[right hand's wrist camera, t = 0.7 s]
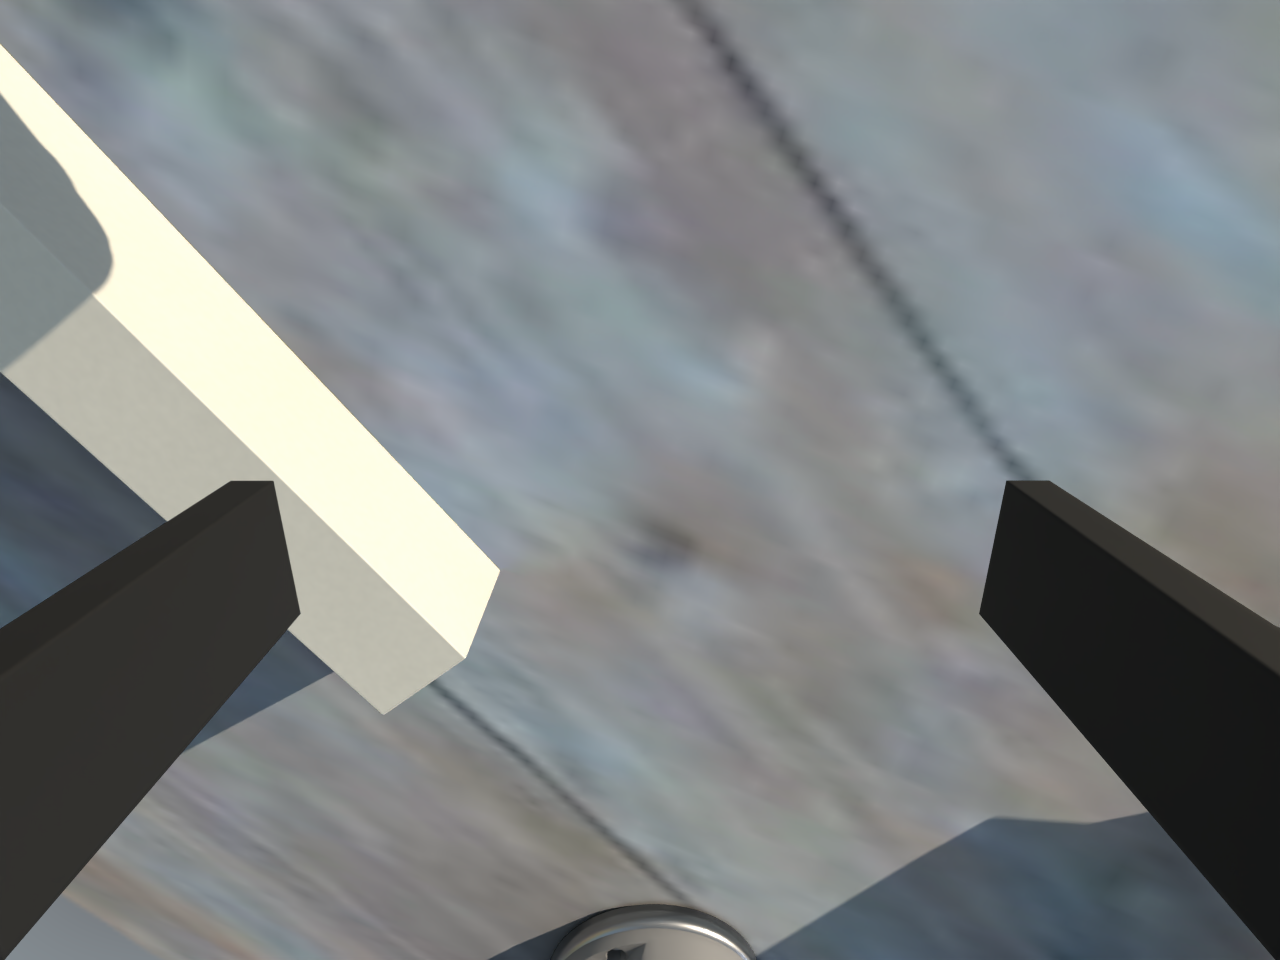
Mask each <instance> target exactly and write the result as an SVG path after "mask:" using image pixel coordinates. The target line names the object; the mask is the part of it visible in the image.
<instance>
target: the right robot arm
mask: <svg viewBox="0 0 1280 960" xmlns="http://www.w3.org/2000/svg"><path fill="white" fill-rule="evenodd" d="M300 614H301V613H300V608H299V603H298V598H297V593H296V588H295V583H294V578H293V573H292V569H291V564H290V559H289V554H288V549H287V544H286V539H285V534H284V529H283V524H282V520H281V515H280V510H279V505H278V500H277V495H276V490H275V485H274V481H230V482H228V483H226V484H225V485H223V486H222V487H220V488H219V489H217V490H216V491H214V492H212V493H211V494H209V495H208V496H206V497H205V498H203V499H202V500H200V501H198V502H197V503H195V504H194V505H192V506H191V507H189V508H188V509H186V510H184V511H183V512H181V513H180V514H178V515H177V516H175V517H174V518H172V519H170V520H169V521H167V522H166V523H164V524H163V525H161V526H160V527H158V528H156V529H155V530H153V531H152V532H150V533H149V534H147V535H146V536H144V537H142V538H141V539H139V540H138V541H136V542H135V543H133V544H132V545H130V546H128V547H127V548H125V549H124V550H122V551H121V552H119V553H118V554H116V555H114V556H113V557H111V558H110V559H108V560H107V561H105V562H104V563H102V564H100V565H99V566H97V567H96V568H94V569H93V570H91V571H90V572H88V573H86V574H85V575H83V576H82V577H80V578H79V579H77V580H76V581H74V582H72V583H71V584H69V585H68V586H66V587H65V588H63V589H62V590H60V591H58V592H57V593H55V594H54V595H52V596H51V597H49V598H48V599H46V600H44V601H43V602H41V603H40V604H38V605H37V606H35V607H34V608H32V609H30V610H29V611H27V612H26V613H24V614H23V615H21V616H20V617H18V618H16V619H15V620H13V621H12V622H10V623H9V624H7V625H6V626H4V627H2V628H1V629H0V960H5V959H6V957H7V956H8V955H9V954H10V953H11V951H12V950H13V949H14V948H15V947H16V946H17V944H18V943H19V942H20V941H21V940H22V939H23V938H24V936H25V935H26V934H27V933H28V932H29V931H30V929H31V928H32V927H33V926H34V925H35V923H36V922H37V921H38V920H39V919H40V918H41V917H42V915H43V914H44V913H45V912H46V911H47V909H48V908H49V907H50V906H51V905H52V904H53V902H54V901H55V900H56V899H57V898H58V897H59V895H60V894H61V893H62V892H63V891H64V890H65V888H66V887H67V886H68V885H69V884H70V883H71V881H72V880H73V879H74V878H75V877H76V876H77V874H78V873H79V872H80V871H81V870H82V869H83V867H84V866H85V865H86V864H87V863H88V862H89V860H90V859H91V858H92V857H93V856H94V855H95V853H96V852H97V851H98V850H99V849H100V848H101V846H102V845H103V844H104V843H105V842H106V841H107V839H108V838H109V837H110V836H111V835H112V834H113V832H114V831H115V830H116V829H117V828H118V827H119V825H120V824H121V823H122V822H123V821H124V820H125V818H126V817H127V816H128V815H129V814H130V813H131V811H132V810H133V809H134V808H135V807H136V806H137V804H138V803H139V802H140V801H141V800H142V799H143V797H144V796H145V795H146V794H147V793H148V792H149V790H150V789H151V788H152V787H153V786H154V785H155V783H156V782H157V781H158V780H159V779H160V778H161V776H162V775H163V774H164V773H165V772H166V771H167V769H168V768H169V767H170V766H171V765H172V764H173V762H174V761H175V760H176V759H177V758H178V757H179V755H180V754H181V753H182V752H183V751H184V750H185V748H186V747H187V746H188V745H189V744H190V743H191V741H192V740H193V739H194V738H195V737H196V735H197V734H198V733H199V732H200V731H201V730H202V728H203V727H204V726H205V725H206V724H207V723H208V721H209V720H210V719H211V718H212V717H213V716H214V714H215V713H216V712H217V711H218V710H219V709H220V707H221V706H222V705H223V704H224V703H225V702H226V700H227V699H228V698H229V697H230V696H231V695H232V693H233V692H234V691H235V690H236V689H237V688H238V686H239V685H240V684H241V683H242V682H243V681H244V679H245V678H246V677H247V676H248V675H249V674H250V672H251V671H252V670H253V669H254V668H255V667H256V665H257V664H258V663H259V662H260V661H261V660H262V658H263V657H264V656H265V655H266V654H267V653H268V651H269V650H270V649H271V648H272V647H273V646H274V644H275V643H276V642H277V641H278V640H279V639H280V637H281V636H282V635H283V634H284V633H285V632H286V630H287V629H288V628H289V627H290V626H291V625H292V623H293V622H294V621H295V620H296V619H297V618H298V616H299V615H300ZM979 614H980V615H981V616H982V618H983V619H984V620H985V621H986V622H987V623H988V625H989V626H990V627H991V628H992V629H993V630H994V632H995V633H996V634H997V635H998V636H999V637H1000V639H1001V640H1002V641H1003V642H1004V643H1005V644H1006V646H1007V647H1008V648H1009V649H1010V650H1011V651H1012V653H1013V654H1014V655H1015V656H1016V657H1017V658H1018V660H1019V661H1020V662H1021V663H1022V664H1023V665H1024V667H1025V668H1026V669H1027V670H1028V671H1029V672H1030V674H1031V675H1032V676H1033V677H1034V678H1035V679H1036V681H1037V682H1038V683H1039V684H1040V685H1041V686H1042V688H1043V689H1044V690H1045V691H1046V692H1047V693H1048V695H1049V696H1050V697H1051V698H1052V699H1053V700H1054V702H1055V703H1056V704H1057V705H1058V706H1059V707H1060V709H1061V710H1062V711H1063V712H1064V713H1065V714H1066V716H1067V717H1068V718H1069V719H1070V720H1071V721H1072V723H1073V724H1074V725H1075V726H1076V727H1077V728H1078V730H1079V731H1080V732H1081V733H1082V734H1083V735H1084V737H1085V738H1086V739H1087V740H1088V741H1089V743H1090V744H1091V745H1092V746H1093V747H1094V748H1095V750H1096V751H1097V752H1098V753H1099V754H1100V755H1101V757H1102V758H1103V759H1104V760H1105V761H1106V762H1107V764H1108V765H1109V766H1110V767H1111V768H1112V769H1113V771H1114V772H1115V773H1116V774H1117V775H1118V776H1119V778H1120V779H1121V780H1122V781H1123V782H1124V783H1125V785H1126V786H1127V787H1128V788H1129V789H1130V790H1131V792H1132V793H1133V794H1134V795H1135V796H1136V797H1137V799H1138V800H1139V801H1140V802H1141V803H1142V804H1143V806H1144V807H1145V808H1146V809H1147V810H1148V811H1149V813H1150V814H1151V815H1152V816H1153V817H1154V818H1155V820H1156V821H1157V822H1158V823H1159V824H1160V825H1161V827H1162V828H1163V829H1164V830H1165V831H1166V832H1167V834H1168V835H1169V836H1170V837H1171V838H1172V839H1173V841H1174V842H1175V843H1176V844H1177V845H1178V846H1179V848H1180V849H1181V850H1182V851H1183V852H1184V853H1185V855H1186V856H1187V857H1188V858H1189V859H1190V860H1191V862H1192V863H1193V864H1194V865H1195V866H1196V867H1197V869H1198V870H1199V871H1200V872H1201V873H1202V874H1203V876H1204V877H1205V878H1206V879H1207V880H1208V881H1209V883H1210V884H1211V885H1212V886H1213V887H1214V888H1215V890H1216V891H1217V892H1218V893H1219V894H1220V895H1221V897H1222V898H1223V899H1224V900H1225V901H1226V902H1227V904H1228V905H1229V906H1230V907H1231V908H1232V909H1233V911H1234V912H1235V913H1236V914H1237V915H1238V917H1239V918H1240V919H1241V920H1242V921H1243V922H1244V924H1245V925H1246V926H1247V927H1248V928H1249V929H1250V931H1251V932H1252V933H1253V934H1254V935H1255V936H1256V938H1257V939H1258V940H1259V941H1260V942H1261V943H1262V945H1263V946H1264V947H1265V948H1266V949H1267V950H1268V952H1269V953H1270V954H1271V955H1272V956H1273V957H1274V959H1275V960H1280V628H1279V627H1277V626H1274V625H1273V624H1271V623H1270V622H1268V621H1267V620H1265V619H1264V618H1262V617H1260V616H1259V615H1257V614H1256V613H1254V612H1253V611H1251V610H1250V609H1248V608H1246V607H1245V606H1243V605H1242V604H1240V603H1239V602H1237V601H1236V600H1234V599H1232V598H1231V597H1229V596H1228V595H1226V594H1225V593H1223V592H1222V591H1220V590H1218V589H1217V588H1215V587H1214V586H1212V585H1211V584H1209V583H1208V582H1206V581H1204V580H1203V579H1201V578H1200V577H1198V576H1197V575H1195V574H1194V573H1192V572H1190V571H1189V570H1187V569H1186V568H1184V567H1183V566H1181V565H1180V564H1178V563H1176V562H1175V561H1173V560H1172V559H1170V558H1169V557H1167V556H1166V555H1164V554H1162V553H1161V552H1159V551H1158V550H1156V549H1155V548H1153V547H1152V546H1150V545H1148V544H1147V543H1145V542H1144V541H1142V540H1141V539H1139V538H1138V537H1136V536H1134V535H1133V534H1131V533H1130V532H1128V531H1127V530H1125V529H1124V528H1122V527H1120V526H1119V525H1117V524H1116V523H1114V522H1113V521H1111V520H1110V519H1108V518H1106V517H1105V516H1103V515H1102V514H1100V513H1099V512H1097V511H1096V510H1094V509H1092V508H1091V507H1089V506H1088V505H1086V504H1085V503H1083V502H1082V501H1080V500H1078V499H1077V498H1075V497H1074V496H1072V495H1071V494H1069V493H1068V492H1066V491H1064V490H1063V489H1061V488H1060V487H1058V486H1057V485H1055V484H1054V483H1052V482H1050V481H1006V485H1005V490H1004V495H1003V500H1002V505H1001V510H1000V515H999V520H998V524H997V529H996V534H995V539H994V544H993V549H992V554H991V559H990V564H989V569H988V573H987V578H986V583H985V588H984V593H983V598H982V603H981V608H980V613H979ZM551 960H757V959H756V957H755V954H754V952H753V950H752V949H751V947H750V945H749V944H748V943H747V941H746V940H745V939H744V938H743V937H742V936H741V935H740V934H739V933H738V932H737V931H736V930H734V929H733V928H732V927H731V926H729V925H728V924H726V923H725V922H723V921H721V920H719V919H717V918H715V917H713V916H711V915H708V914H706V913H703V912H700V911H697V910H694V909H690V908H685V907H680V906H673V905H660V904H647V905H635V906H628V907H623V908H619V909H615V910H611V911H608V912H605V913H602V914H600V915H597V916H595V917H593V918H591V919H589V920H587V921H585V922H583V923H582V924H580V925H579V926H577V927H576V928H575V929H573V930H572V931H571V932H570V933H569V934H568V935H567V936H565V937H564V938H563V940H562V941H561V942H560V943H559V945H558V946H557V948H556V949H555V951H554V953H553V955H552V957H551Z"/></svg>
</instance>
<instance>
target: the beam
mask: <svg viewBox="0 0 1280 960" xmlns="http://www.w3.org/2000/svg"><path fill="white" fill-rule="evenodd" d="M0 372H1V373H2V374H3V375H4V376H5V377H6V378H7V379H8V380H10V381H11V382H12V383H13V384H14V385H15V386H16V387H17V388H18V389H20V390H21V391H22V392H23V393H24V394H25V395H26V396H27V397H28V398H30V399H31V400H32V401H33V402H34V403H35V404H36V405H37V406H39V407H40V408H41V409H42V410H43V411H44V412H45V413H46V414H47V415H49V416H50V417H51V418H52V419H53V420H54V421H55V422H56V423H57V424H59V425H60V426H61V427H62V428H63V429H64V430H65V431H66V432H68V433H69V434H70V435H71V436H72V437H73V438H74V439H75V440H76V441H78V442H79V443H80V444H81V445H82V446H83V447H84V448H85V449H86V450H88V451H89V452H90V453H91V454H92V455H93V456H94V457H95V458H97V459H98V460H99V461H100V462H101V463H102V464H103V465H104V466H105V467H107V468H108V469H109V470H110V471H111V472H112V473H113V474H114V475H115V476H117V477H118V478H119V479H120V480H121V481H122V482H123V483H124V484H125V485H127V486H128V487H129V488H130V489H131V490H132V491H133V492H134V493H136V494H137V495H138V496H139V497H140V498H141V499H142V500H143V501H144V502H146V503H147V504H148V505H149V506H150V507H151V508H152V509H153V510H154V511H156V512H157V513H158V514H159V515H160V516H161V517H162V518H163V519H165V520H166V521H169V520H170V519H172V518H174V517H175V516H177V515H178V514H180V513H181V512H183V511H184V510H186V509H188V508H189V507H191V506H192V505H194V504H195V503H197V502H198V501H200V500H202V499H203V498H205V497H206V496H208V495H209V494H211V493H212V492H214V491H216V490H217V489H219V488H220V487H222V486H223V485H225V484H226V483H228V482H230V481H274V485H275V490H276V495H277V500H278V505H279V510H280V515H281V520H282V524H283V529H284V534H285V539H286V544H287V549H288V554H289V559H290V564H291V569H292V573H293V578H294V583H295V588H296V593H297V598H298V603H299V608H300V613H301V614H300V615H299V616H298V618H297V619H296V620H295V621H294V622H293V623H292V625H291V626H290V627H289V628H288V629H287V630H288V631H289V632H290V633H292V634H293V635H294V636H295V637H296V638H297V639H298V640H299V641H301V642H302V643H303V644H304V645H305V646H306V647H307V648H308V649H309V650H311V651H312V652H313V653H314V654H315V655H316V656H317V657H318V658H319V659H321V660H322V661H323V662H324V663H325V664H326V665H327V666H328V667H330V668H331V669H332V670H333V671H334V672H335V673H336V674H337V675H338V676H340V677H341V678H342V679H343V680H344V681H345V682H346V683H347V684H348V685H350V686H351V687H352V688H353V689H354V690H355V691H356V692H357V693H358V694H360V695H361V696H362V697H363V698H364V699H365V700H366V701H367V702H369V703H370V704H371V705H372V706H373V707H374V708H375V709H376V710H377V711H379V712H380V713H381V714H382V715H384V714H386V713H387V712H389V711H390V710H392V709H393V708H395V707H396V706H397V705H399V704H400V703H402V702H403V701H405V700H406V699H408V698H409V697H410V696H412V695H413V694H415V693H416V692H418V691H419V690H421V689H422V688H423V687H425V686H426V685H428V684H429V683H431V682H432V681H433V680H435V679H436V678H438V677H439V676H441V675H442V674H444V673H445V672H446V671H448V670H449V669H451V668H452V667H454V666H455V665H457V664H458V663H459V662H461V661H462V660H464V659H465V658H466V656H467V653H468V651H469V648H470V646H471V643H472V641H473V638H474V635H475V633H476V630H477V628H478V625H479V623H480V620H481V618H482V615H483V613H484V610H485V608H486V605H487V603H488V600H489V598H490V595H491V592H492V590H493V587H494V585H495V582H496V580H497V577H498V575H499V572H500V570H499V569H498V568H497V567H496V566H495V565H494V563H493V562H492V561H491V560H490V559H489V558H488V557H487V556H486V555H485V554H484V553H483V552H482V551H481V550H480V549H479V548H478V547H477V546H476V545H475V543H474V542H473V541H472V540H471V539H470V538H469V537H468V536H467V535H466V534H465V533H464V532H463V531H462V530H461V529H460V528H459V527H458V526H457V525H456V524H455V522H454V521H453V520H452V519H451V518H450V517H449V516H448V515H447V514H446V513H445V512H444V511H443V510H442V509H441V508H440V507H439V506H438V505H437V504H436V502H435V501H434V500H433V499H432V498H431V497H430V496H429V495H428V494H427V493H426V492H425V491H424V490H423V489H422V488H421V487H420V486H419V485H418V484H417V482H416V481H415V480H414V479H413V478H412V477H411V476H410V475H409V474H408V473H407V472H406V471H405V470H404V469H403V468H402V467H401V466H400V465H399V464H398V462H397V461H396V460H395V459H394V458H393V457H392V456H391V455H390V454H389V453H388V452H387V451H386V450H385V449H384V448H383V447H382V446H381V445H380V444H379V442H378V441H377V440H376V439H375V438H374V437H373V436H372V435H371V434H370V433H369V432H368V431H367V430H366V429H365V428H364V427H363V426H362V425H361V424H360V422H359V421H358V420H357V419H356V418H355V417H354V416H353V415H352V414H351V413H350V412H349V411H348V410H347V409H346V408H345V407H344V406H343V405H342V404H341V402H340V401H339V400H338V399H337V398H336V397H335V396H334V395H333V394H332V393H331V392H330V391H329V390H328V389H327V388H326V387H325V386H324V385H323V384H322V382H321V381H320V380H319V379H318V378H317V377H316V376H315V375H314V374H313V373H312V372H311V371H310V370H309V369H308V368H307V367H306V366H305V365H304V364H303V362H302V361H301V360H300V359H299V358H298V357H297V356H296V355H295V354H294V353H293V352H292V351H291V350H290V349H289V348H288V347H287V346H286V345H285V344H284V342H283V341H282V340H281V339H280V338H279V337H278V336H277V335H276V334H275V333H274V332H273V331H272V330H271V329H270V328H269V327H268V326H267V325H266V324H265V322H264V321H263V320H262V319H261V318H260V317H259V316H258V315H257V314H256V313H255V312H254V311H253V310H252V309H251V308H250V307H249V306H248V305H247V304H246V302H245V301H244V300H243V299H242V298H241V297H240V296H239V295H238V294H237V293H236V292H235V291H234V290H233V289H232V288H231V287H230V286H229V285H228V284H227V282H226V281H225V280H224V279H223V278H222V277H221V276H220V275H219V274H218V273H217V272H216V271H215V270H214V269H213V268H212V267H211V266H210V265H209V264H208V262H207V261H206V260H205V259H204V258H203V257H202V256H201V255H200V254H199V253H198V252H197V251H196V250H195V249H194V248H193V247H192V246H191V245H190V244H189V242H188V241H187V240H186V239H185V238H184V237H183V236H182V235H181V234H180V233H179V232H178V231H177V230H176V229H175V228H174V227H173V226H172V225H171V224H170V223H169V221H168V220H167V219H166V218H165V217H164V216H163V215H162V214H161V213H160V212H159V211H158V210H157V209H156V208H155V207H154V206H153V205H152V204H151V203H150V201H149V200H148V199H147V198H146V197H145V196H144V195H143V194H142V193H141V192H140V191H139V190H138V189H137V188H136V187H135V186H134V185H133V184H132V183H131V181H130V180H129V179H128V178H127V177H126V176H125V175H124V174H123V173H122V172H121V171H120V170H119V169H118V168H117V167H116V166H115V165H114V164H113V163H112V161H111V160H110V159H109V158H108V157H107V156H106V155H105V154H104V153H103V152H102V151H101V150H100V149H99V148H98V147H97V146H96V145H95V144H94V143H93V141H92V140H91V139H90V138H89V137H88V136H87V135H86V134H85V133H84V132H83V131H82V130H81V129H80V128H79V127H78V126H77V125H76V124H75V123H74V121H73V120H72V119H71V118H70V117H69V116H68V115H67V114H66V113H65V112H64V111H63V110H62V109H61V108H60V107H59V106H58V105H57V104H56V103H55V101H54V100H53V99H52V98H51V97H50V96H49V95H48V94H47V93H46V92H45V91H44V90H43V89H42V88H41V87H40V86H39V85H38V84H37V83H36V81H35V80H34V79H33V78H32V77H31V76H30V75H29V74H28V73H27V72H26V71H25V70H24V69H23V68H22V67H21V66H20V65H19V64H18V63H17V61H16V60H15V59H14V58H13V57H12V56H11V55H10V54H9V53H8V52H7V51H6V50H5V49H4V48H3V47H2V46H1V45H0Z"/></svg>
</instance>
